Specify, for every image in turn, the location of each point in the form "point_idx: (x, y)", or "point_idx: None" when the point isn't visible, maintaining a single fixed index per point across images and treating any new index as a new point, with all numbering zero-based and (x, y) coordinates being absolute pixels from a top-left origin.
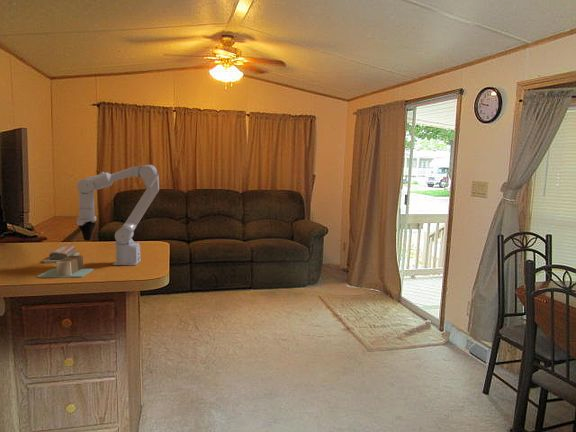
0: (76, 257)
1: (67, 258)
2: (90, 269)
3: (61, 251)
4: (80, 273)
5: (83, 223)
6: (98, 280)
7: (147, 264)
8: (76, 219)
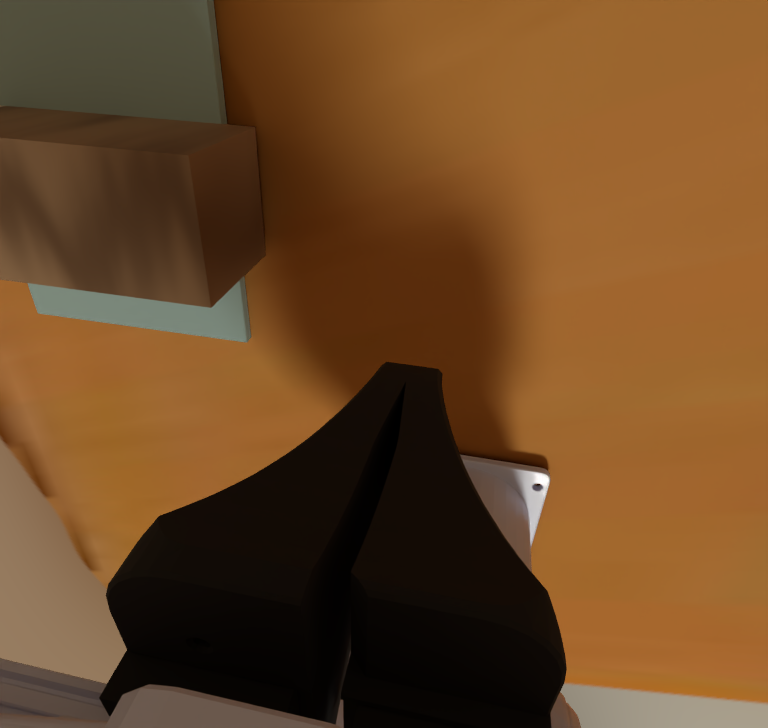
0: (118, 268)
1: (50, 184)
2: (218, 326)
3: None
4: None
5: (8, 711)
6: (24, 413)
7: None
8: (124, 707)
